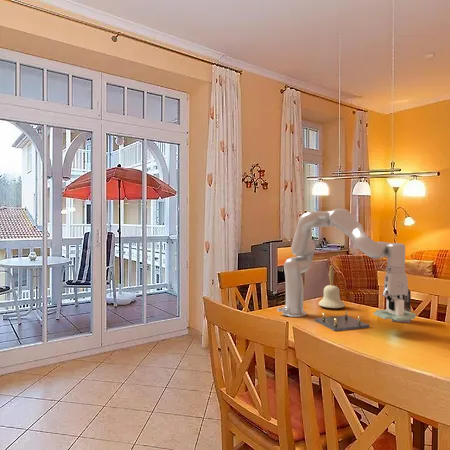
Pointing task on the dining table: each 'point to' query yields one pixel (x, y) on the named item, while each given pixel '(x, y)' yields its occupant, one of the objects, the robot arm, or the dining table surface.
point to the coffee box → (405, 306)
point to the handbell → (331, 294)
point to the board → (389, 315)
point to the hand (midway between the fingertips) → (394, 309)
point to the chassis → (341, 322)
